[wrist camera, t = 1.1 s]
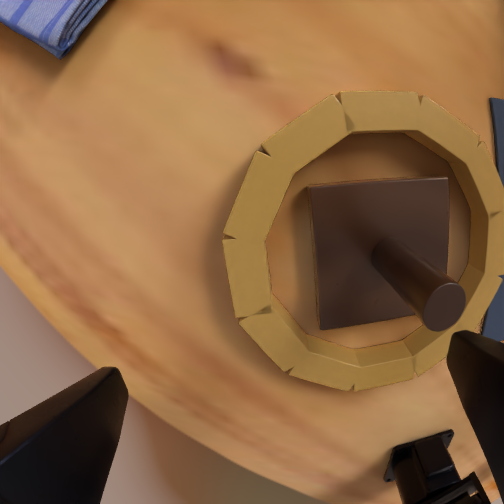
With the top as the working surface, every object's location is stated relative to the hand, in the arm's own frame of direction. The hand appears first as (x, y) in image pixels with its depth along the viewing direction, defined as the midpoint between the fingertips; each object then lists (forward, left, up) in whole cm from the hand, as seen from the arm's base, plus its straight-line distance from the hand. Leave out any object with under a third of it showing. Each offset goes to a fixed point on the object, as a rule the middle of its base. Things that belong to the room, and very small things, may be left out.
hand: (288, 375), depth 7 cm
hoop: (-1, -6, -10) cm, 12 cm away
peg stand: (-1, -6, -10) cm, 12 cm away
